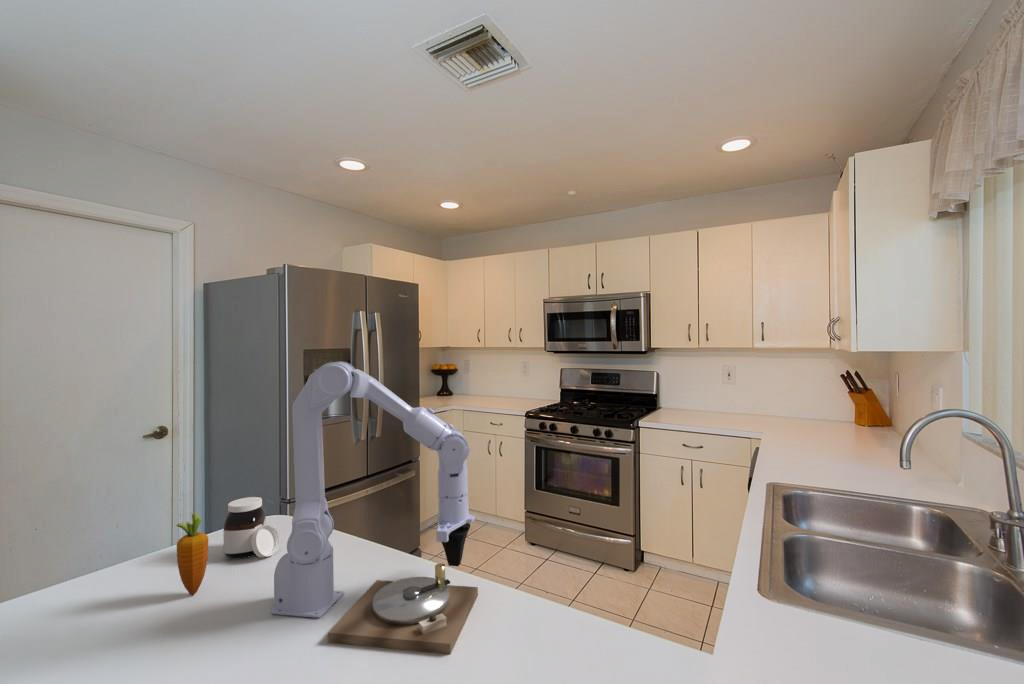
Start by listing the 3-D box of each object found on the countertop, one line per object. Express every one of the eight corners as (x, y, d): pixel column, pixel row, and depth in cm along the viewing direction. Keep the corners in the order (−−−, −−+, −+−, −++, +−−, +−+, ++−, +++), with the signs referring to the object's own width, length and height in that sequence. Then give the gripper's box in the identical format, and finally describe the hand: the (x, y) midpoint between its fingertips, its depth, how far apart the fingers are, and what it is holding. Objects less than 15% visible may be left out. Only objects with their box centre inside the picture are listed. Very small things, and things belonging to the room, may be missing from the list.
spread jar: (234, 545, 110) (234, 496, 110) (286, 539, 112) (285, 492, 112) (215, 568, 98) (214, 513, 98) (273, 561, 101) (272, 508, 101)
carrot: (192, 603, 84) (191, 521, 84) (170, 600, 85) (169, 519, 85) (215, 589, 89) (214, 511, 89) (193, 587, 90) (193, 510, 90)
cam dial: (388, 634, 70) (387, 604, 70) (362, 598, 81) (362, 571, 81) (466, 604, 78) (465, 577, 78) (433, 575, 89) (433, 550, 89)
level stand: (328, 642, 72) (327, 620, 72) (376, 588, 88) (376, 570, 88) (450, 654, 68) (450, 631, 68) (477, 595, 84) (477, 576, 85)
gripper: (462, 507, 81) (464, 584, 81) (482, 483, 95) (483, 549, 95) (424, 505, 82) (426, 582, 82) (449, 482, 96) (450, 547, 96)
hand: (454, 564), depth 88 cm, fingers closed
